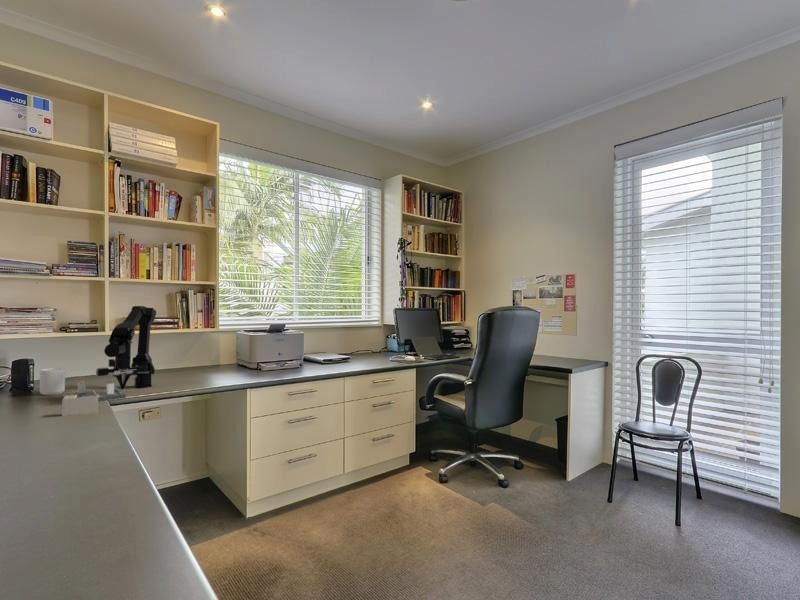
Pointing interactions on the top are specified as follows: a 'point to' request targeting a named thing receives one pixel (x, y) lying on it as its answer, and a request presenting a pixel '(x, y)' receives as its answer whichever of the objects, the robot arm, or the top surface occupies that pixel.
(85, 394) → the console
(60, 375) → the mug
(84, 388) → the grey rectangular block
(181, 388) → the top surface
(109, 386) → the fader teal
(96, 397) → the model
